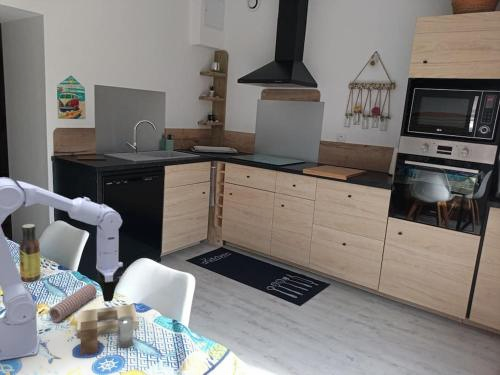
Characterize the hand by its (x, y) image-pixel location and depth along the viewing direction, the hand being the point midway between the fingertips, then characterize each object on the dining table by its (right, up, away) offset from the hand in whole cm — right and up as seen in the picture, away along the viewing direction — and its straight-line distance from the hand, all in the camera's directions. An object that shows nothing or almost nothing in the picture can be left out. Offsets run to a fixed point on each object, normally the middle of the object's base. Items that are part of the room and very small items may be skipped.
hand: (107, 294), depth 109 cm
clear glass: (+7, -12, -6) cm, 15 cm away
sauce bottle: (-37, -2, +26) cm, 45 cm away
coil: (-14, -7, +9) cm, 18 cm away
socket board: (-1, -9, +2) cm, 9 cm away
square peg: (-1, -12, -10) cm, 15 cm away
